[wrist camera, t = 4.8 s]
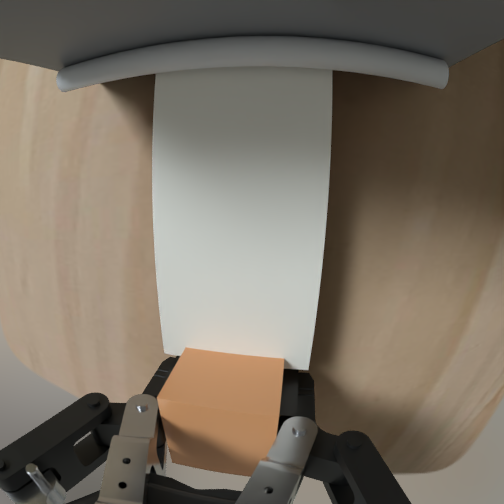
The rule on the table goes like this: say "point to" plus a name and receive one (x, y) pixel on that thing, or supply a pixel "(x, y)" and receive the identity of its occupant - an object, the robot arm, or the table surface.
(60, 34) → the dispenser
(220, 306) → the white and orange bar
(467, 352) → the table surface
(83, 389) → the table surface
